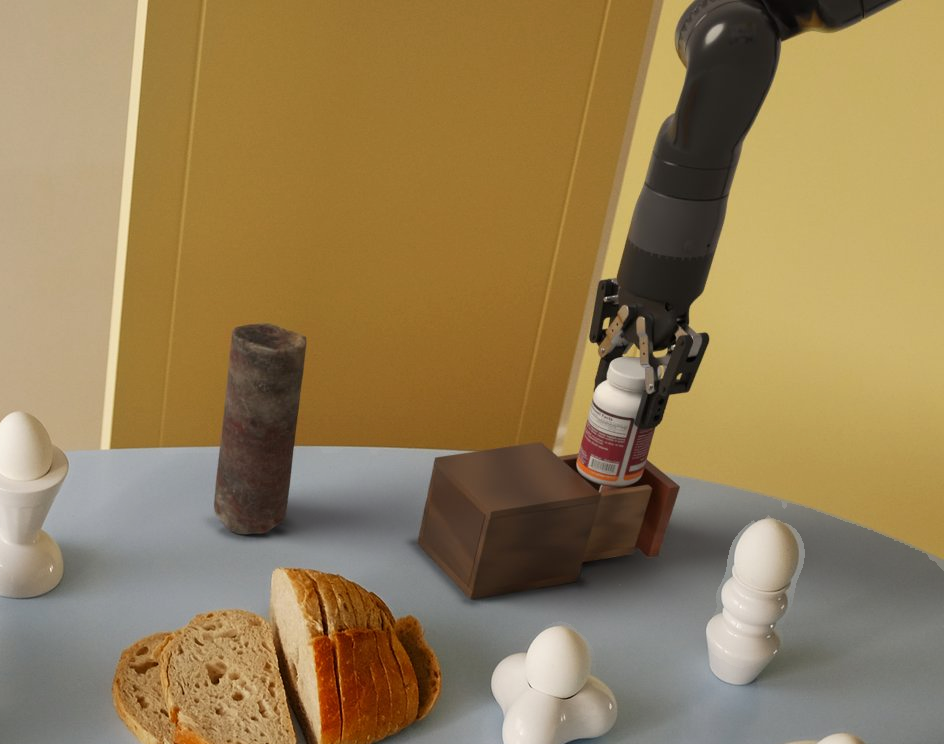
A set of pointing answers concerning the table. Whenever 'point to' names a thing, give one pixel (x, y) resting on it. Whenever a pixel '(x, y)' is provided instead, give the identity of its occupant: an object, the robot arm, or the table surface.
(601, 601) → the table surface
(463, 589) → the cabinet
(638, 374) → the pill bottle
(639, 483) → the drawer
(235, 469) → the brown clay vase
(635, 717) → the table surface
